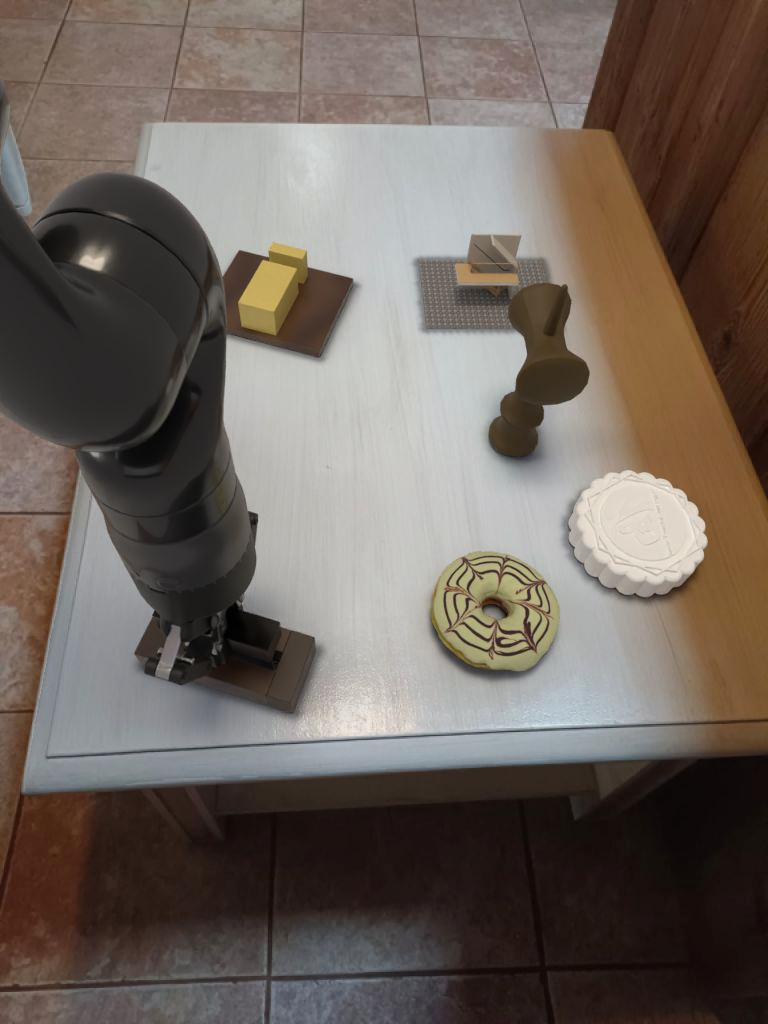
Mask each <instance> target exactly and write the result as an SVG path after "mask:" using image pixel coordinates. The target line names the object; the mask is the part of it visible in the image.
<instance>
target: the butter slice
mask: <svg viewBox="0 0 768 1024" xmlns="http://www.w3.org/2000/svg"><path fill="white" fill-rule="evenodd" d="M268 248H269V249H268V250H267V251H268V257H269V262H273V263H277V264H281V265H285V266H289V267H293V268H297V273H298V283H302V284H304V282H305V280H306V278H307V276H308V267H309V266H308V250H306V249H303V248H298V247H295V246H290V245H286V244H283V243H278V242H274V241H273V242H272V243H271V245H270V247H268Z"/></svg>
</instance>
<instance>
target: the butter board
mask: <svg viewBox="0 0 768 1024" xmlns="http://www.w3.org/2000/svg"><path fill="white" fill-rule="evenodd" d="M262 260H265V261H269V256H266V255H261V254H257V253H252V252H249V251H247V250H246V251H245V250H241V249H238V251H237V253H236V254H235V256H234V257H233V259H232V261H231V263H230V264H229V266H228V267H227V269H226V271H225V272H224V274H222V277H223V282H224V289H225V297H226V316H227V334H230V335H233V336H237V337H241V338H243V339H248V340H252V341H256V342H259V343H264V344H267V345H271V346H274V347H279V348H283V349H286V350H290V351H293V352H298V353H300V354H304V355H309V356H312V357H316V358H320V357H321V355H322V352H323V350H324V348H325V346H326V344H327V342H328V339H329V338H330V335H331V333H332V331H333V329H334V327H335V325H336V322H337V321H338V318H339V316H340V314H341V312H342V310H343V308H344V306H345V303H346V301H347V299H348V297H349V295H350V292H351V290H352V288H353V286H354V278H353V277H349V276H345V275H341V274H338V273H333V272H329V271H325V270H322V269H317V268H313V267H309V266H308V276H307V278H306V280H305V282H304V284H302V283H298V291H299V294H298V295H297V297H296V299H295V301H294V303H293V305H292V307H291V309H290V311H289V313H288V315H287V317H286V318H285V320H284V322H283V324H282V326H281V328H280V330H279V332H278V334H277V336H275V335H271V334H267V333H263V332H259V331H256V330H252V329H248V328H244V327H242V325H241V319H240V312H239V305H238V302H239V300H240V298H241V296H242V295H243V293H244V291H245V290H246V288H247V286H248V284H249V283H250V281H251V279H252V278H253V276H254V274H255V272H256V271H257V269H258V267H259V266H260V264H261V262H262Z"/></svg>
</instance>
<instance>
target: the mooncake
mask: <svg viewBox="0 0 768 1024" xmlns="http://www.w3.org/2000/svg"><path fill="white" fill-rule="evenodd" d="M699 514H700V513H699V508H698V506H697V505H696V504H695V503H694V502H692V501H690V500H688V496H687V494H686V492H685V491H683V490H682V489H680V488H675V487H673V485H672V483H671V482H670V481H669V480H667V479H665V478H657V477H656V476H654V475H653V474H652V473H649V472H644V471H643V472H639V473H637V472H635V471H634V470H629V469H625V470H622V471H621V472H620V473H618V472H614V471H611V472H610V471H609V472H607V473H605V475H604V476H603V477H602V478H600V477H599V478H594V479H593V480H592V481H591V482H590V483H589V486H588V488H584V489H583V490H582V492H581V493H580V495H579V497H578V499H577V500H576V502H575V504H574V506H573V510H572V514H571V516H570V517H569V519H568V528H569V530H570V532H569V533H568V541H569V543H570V544H571V546H572V547H574V550H573V555H574V557H575V559H576V560H577V561H579V562H580V563H582V564H583V566H584V570H585V572H586V573H587V574H588V575H589V576H591V577H593V578H598V581H599V582H600V583H601V585H602V586H603V587H606V588H608V589H614V588H615V589H616V590H617V591H618V592H619V593H621V594H622V595H625V596H631V595H634V594H636V595H637V596H639V597H642V598H649V597H651V596H653V595H654V594H656V595H661V596H662V595H666V594H668V593H669V592H670V591H671V590H672V589H673V588H678V587H681V586H682V585H683V584H684V583H685V582H686V581H687V579H689V578H690V576H691V575H692V574H694V572H695V570H696V568H697V567H698V566H699V565H700V564H701V563H702V562H703V560H704V558H705V553H704V550H705V549H706V548H707V546H708V543H709V542H708V537H707V536H706V534H705V531H706V528H707V527H706V525H707V524H706V523H705V522H706V521H704V519H703V518H702V517H701V516H699Z"/></svg>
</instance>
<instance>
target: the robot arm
mask: <svg viewBox="0 0 768 1024" xmlns="http://www.w3.org/2000/svg"><path fill="white" fill-rule="evenodd" d="M11 113H12V101H11V95H10V91H9V87H8V86H7V84H6V82H5V80H4V78H3V76H2V75H1V74H0V413H1V414H2V415H4V416H5V417H6V418H7V419H9V420H10V421H11V422H13V423H15V424H16V425H18V426H19V427H21V428H23V429H25V430H26V431H27V432H29V433H31V434H33V435H34V436H36V437H39V438H40V439H42V440H45V441H47V442H49V443H51V444H54V445H57V446H60V447H64V448H67V449H71V450H74V455H75V459H76V462H77V465H78V468H79V470H80V472H81V474H82V477H83V479H84V481H85V483H86V485H87V487H88V489H89V490H90V493H91V495H92V496H93V498H94V500H95V502H96V504H97V506H98V508H99V510H100V512H101V513H102V516H103V520H104V524H105V528H106V531H107V534H108V536H109V539H110V541H111V543H112V545H113V548H114V549H115V551H116V552H117V554H118V555H119V558H120V560H121V561H122V563H123V565H124V567H125V569H126V571H127V573H128V574H129V576H130V578H131V580H132V582H133V584H134V585H135V588H136V589H137V591H138V593H139V594H140V596H141V597H142V598H143V600H144V601H145V603H147V604H148V605H149V607H151V608H152V610H153V611H154V610H155V611H156V612H157V613H158V614H159V615H160V629H161V632H162V633H163V635H164V636H166V637H167V639H166V642H165V645H164V648H159V649H158V652H157V654H156V655H152V656H150V657H149V659H148V660H147V662H146V664H145V667H144V669H143V674H145V675H147V676H150V677H153V678H156V679H159V680H163V681H165V682H167V683H168V682H169V683H172V684H176V685H179V686H184V685H186V684H189V683H192V682H191V681H194V680H197V679H199V678H202V677H204V676H206V675H207V674H208V673H209V671H210V670H211V668H212V666H213V667H216V668H219V666H220V664H227V662H228V660H229V657H230V654H229V651H228V649H227V646H226V643H225V640H223V636H224V634H225V632H226V630H227V628H228V626H227V619H226V611H227V609H228V607H233V608H236V609H239V610H243V611H244V606H243V603H244V602H245V598H246V597H245V595H246V594H245V592H246V591H247V590H248V588H249V587H250V586H251V583H252V581H253V579H254V576H255V573H256V568H257V550H256V542H257V532H258V525H259V524H258V523H259V514H258V512H253V511H250V510H249V509H248V503H247V500H246V496H245V492H244V489H243V485H242V484H241V481H240V479H239V477H238V474H237V472H236V469H235V463H234V458H233V455H232V454H233V453H232V450H231V449H232V448H231V443H230V440H229V436H228V432H227V429H226V427H225V419H224V418H225V417H224V409H225V408H224V407H225V394H226V393H225V392H226V391H225V390H226V379H227V376H226V373H227V340H228V339H227V338H228V337H227V335H228V333H227V316H226V297H225V289H224V282H223V272H222V269H221V266H220V262H219V258H218V257H217V254H216V251H215V249H214V246H213V245H212V243H211V241H210V239H209V236H208V234H207V233H206V231H205V230H204V227H202V225H201V223H200V222H199V221H198V220H197V218H196V217H195V216H194V214H192V213H193V212H191V211H190V210H189V208H187V206H185V204H183V202H182V201H180V200H179V199H178V198H177V197H176V196H175V195H174V194H172V193H171V192H170V191H168V190H167V189H166V188H164V187H162V186H161V185H159V184H157V183H155V182H154V181H152V180H149V179H147V178H145V177H143V176H139V175H136V174H131V173H128V172H122V171H101V172H95V173H92V174H87V175H85V176H82V177H80V178H78V179H76V180H74V181H72V182H71V183H69V184H67V185H66V186H65V187H64V188H63V189H61V191H59V192H58V193H57V194H56V195H55V196H54V197H53V198H52V199H51V200H50V201H49V203H48V204H47V205H46V207H45V209H44V210H43V211H42V213H41V214H40V216H39V217H38V218H37V220H36V222H35V223H34V225H33V226H32V228H31V229H30V227H29V225H28V224H27V222H26V221H25V219H24V218H23V216H22V214H21V213H20V211H19V210H18V207H17V206H16V205H15V204H14V202H13V200H12V198H11V197H10V195H9V193H8V191H7V190H6V187H5V185H4V182H3V175H2V167H1V166H2V157H3V151H4V147H5V144H6V143H5V142H6V139H7V134H8V131H9V127H10V120H11V115H12V114H11ZM184 645H185V646H187V647H186V649H185V648H184Z"/></svg>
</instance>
